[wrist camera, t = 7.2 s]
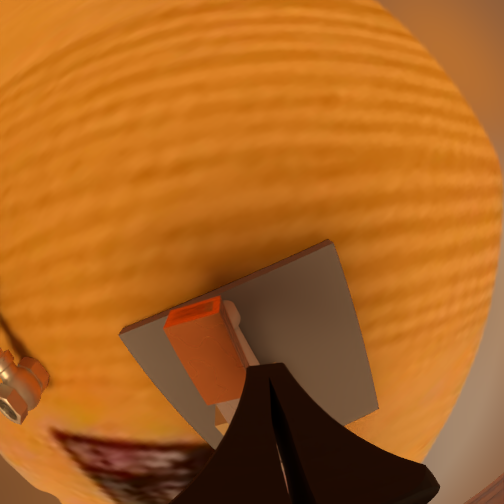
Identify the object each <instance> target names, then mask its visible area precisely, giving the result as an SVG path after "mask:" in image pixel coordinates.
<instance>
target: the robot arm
mask: <svg viewBox="0 0 504 504" xmlns="http://www.w3.org/2000/svg"><path fill="white" fill-rule="evenodd" d="M276 444H277V445H276ZM277 447H278V449H277ZM278 451H279V453H278ZM279 454H280V458H281V461H282V464H283V468H284V471H283V470H282V466H281V462H280V458H279ZM439 489H440V485H439V484H438V482H437V480H436V478H435V477H434V475H433V474H432V473H431V471H430V470H429V469H428V468H427V467H426V465H423V464H420V463H417V462H414V461H411V460H407V459H404V458H401V457H399V456H396V455H394V454H391V453H389V452H387V451H385V450H382V449H380V448H378V447H377V446H375V445H373V444H371V443H369V442H367V441H366V440H364V439H362V438H360V437H359V436H357V435H355V434H354V433H352V432H351V431H350V430H348V429H347V428H345V427H344V426H343V425H341V424H340V423H339V422H337V421H336V420H335V419H334V418H332V417H331V416H330V415H329V414H328V413H327V412H325V411H324V410H323V409H322V408H321V407H320V406H319V405H318V404H317V403H316V402H315V401H314V400H313V399H312V398H311V397H310V396H309V395H308V394H307V392H306V391H305V390H304V389H303V388H302V387H301V386H300V384H299V383H298V382H297V381H296V379H295V378H294V377H293V375H292V374H291V373H290V371H289V370H288V368H287V367H286V365H285V364H284V363H282V362H281V363H273V364H264V365H254V366H249V367H247V368H246V378H245V384H244V388H243V391H242V394H241V397H240V400H239V403H238V406H237V409H236V411H235V414H234V416H233V418H232V420H231V423H230V425H229V427H228V429H227V431H226V433H225V435H224V436H223V438H222V440H221V442H220V443H219V445H218V447H217V448H216V450H215V451H214V453H213V454H212V456H211V457H210V459H209V460H208V461H207V463H206V464H205V465H204V467H203V468H202V469H201V470H200V472H199V473H198V474H197V475H196V476H195V478H194V479H193V480H192V481H191V482H190V483H189V484H188V486H187V487H186V488H185V489H184V490H183V491H182V492H181V493H179V494H178V495H177V496H176V497H175V498H174V499H173V500H172V501H171V502H170V503H169V504H427V503H428V502H429V501H431V500H432V498H434V497H435V495H436V494H437V493H438V491H439ZM464 504H504V473H503V474H502V475H501V476H499V477H498V478H497V479H496V480H495V481H493V482H492V483H491V484H490V485H488V486H487V487H486V488H484V489H483V490H482V491H481V492H479V493H478V494H476V495H475V496H474V497H472V498H471V499H469V500H468V501H467V502H465V503H464Z"/></svg>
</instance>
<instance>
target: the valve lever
mask: <svg viewBox="0 0 504 504" xmlns="http://www.w3.org/2000/svg"><path fill="white" fill-rule="evenodd" d="M163 330H164V331H165V333H166V335H167V337H168V339H169V341H170V343H171V345H172V347H173V348H174V350H175V352H176V354H177V356H178V357H179V359H180V361H181V363H182V365H183V366H184V368H185V370H186V372H187V373H188V375H189V377H190V378H191V380H192V382H193V383H194V385H195V387H196V388H197V390H198V392H199V393H200V395H201V396H202V398H203V400H204V401H205V403H206V404H207V405H212V404H216V405H217V407H218V408H219V410H220V412H221V413H222V415H223V416H224V418H225V420H226V421H227V423H228V424H229V425H230V423H231V420H232V418H233V416H234V414H235V411H236V409H237V406H238V403H239V400H240V397H241V394H242V391H243V388H244V384H245V378H246V368H247V367H249V366H250V365H249V363H248V360H247V358H246V356H245V353H244V351H243V349H242V346H241V344H240V342H239V339H238V337H237V335H236V332H235V330H234V327H233V325H232V323H231V320H230V318H229V315H228V313H227V310H226V308H225V306H224V303H223V301H222V298H221V296H217V297H214V298H210V299H207V300H204V301H201V302H198V303H194V304H191V305H188V306H184V307H181V308H178V309H174V310H171V311H170V313H169V315H168V318H167V320H166V322H165V325H164V327H163ZM276 445H277V444H276ZM277 449H278V447H277ZM278 453H279V451H278ZM279 458H280V454H279ZM280 462H281V463H282V461H281V458H280Z"/></svg>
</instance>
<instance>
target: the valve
mask: <svg viewBox="0 0 504 504" xmlns="http://www.w3.org/2000/svg"><path fill="white" fill-rule="evenodd" d="M13 360H14V357H13V356H12V354H11V353H10V351H9V350H6V351H4V352H3V351H2V349H1V348H0V377H1V379H2V381H3V384H2V383H1V384H0V411H1V412H2V413H3V414H4V415H5V416H6V417H7V418H8V419H10V420H11V421H13V422H14V423H17V424H22V422H23V421H24V419H25V418H26V416H27V415H28V411H30V410H32V409H34V408H35V407H36V406H37V405H38V403H39V401H40V399H41V394H42V393H43V391H44V390H45V388H46V387H47V385H48V381H49V374H48V373H47V371H46V370H45V369H44V368H43V366H42V365H41V364H40V362H39V361H38V360H36V359H33V358H30V357H27V356H24V358H23V359H22V360H21V361H20V362H19V363H18V366H16V365H15V363H14V362H13Z"/></svg>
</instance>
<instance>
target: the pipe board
mask: <svg viewBox="0 0 504 504" xmlns="http://www.w3.org/2000/svg"><path fill="white" fill-rule="evenodd" d="M217 296H221V298H222V301H223V303H224V306H225V308H226V310H227V313H228V315H229V318H230V320H231V323H232V325H233V327H234V330H235V332H236V335H237V337H238V339H239V342H240V344H241V346H242V349H243V351H244V353H245V356H246V358H247V360H248V363H249V365H250V366H254V365H264V364H273V363H281V362H282V363H284V364H285V365H286V367H287V368H288V370H289V371H290V373H291V374H292V375H293V377H294V378H295V379H296V381H297V382H298V383H299V384H300V386H301V387H302V388H303V389H304V390H305V391H306V392H307V394H308V395H309V396H310V397H311V398H312V399H313V400H314V401H315V402H316V403H317V404H318V405H319V406H320V407H321V408H322V409H323V410H324V411H325V412H327V413H328V414H329V415H330V416H331V417H332V418H334V419H335V420H336V421H337V422H339V423H340V424H341V425H343V426H344V425H347V424H349V423H351V422H353V421H355V420H357V419H359V418H361V417H364V416H366V415H368V414H370V413H372V412H373V411H375V410H377V409H379V407H378V402H377V397H376V392H375V388H374V383H373V379H372V374H371V370H370V366H369V361H368V357H367V353H366V349H365V345H364V342H363V338H362V334H361V330H360V327H359V323H358V319H357V316H356V312H355V309H354V305H353V302H352V299H351V295H350V292H349V289H348V286H347V282H346V279H345V276H344V273H343V270H342V267H341V264H340V261H339V258H338V255H337V252H336V249H335V246H334V243H333V242H331V241H330V240H326V241H324V242H321V243H319V244H317V245H315V246H313V247H310V248H308V249H306V250H304V251H302V252H299V253H297V254H295V255H293V256H291V257H288V258H286V259H284V260H282V261H279V262H277V263H275V264H273V265H270V266H268V267H266V268H264V269H261V270H259V271H257V272H255V273H252V274H250V275H248V276H246V277H243V278H241V279H239V280H236V281H234V282H232V283H230V284H227V285H225V286H223V287H220V288H218V289H216V290H213V291H211V292H209V293H206V294H204V295H202V296H199V297H197V298H195V299H192V300H190V301H188V302H185V303H183V304H181V305H178V306H176V307H173V308H171V309H169V310H166V311H164V312H161V313H159V314H157V315H154V316H152V317H149V318H147V319H145V320H142V321H140V322H137V323H135V324H132V325H130V326H128V327H125V328H123V329H122V330H121V332H120V334H119V337H120V338H121V340H122V341H123V343H124V344H125V346H126V347H127V348H128V350H129V351H130V353H131V354H132V355H133V357H134V358H135V360H136V361H137V362H138V364H139V365H140V366H141V368H142V369H143V370H144V371H145V373H146V374H147V375H148V377H149V378H150V379H151V380H152V382H153V383H154V384H155V385H156V387H157V388H158V389H159V390H160V391H161V393H162V394H163V395H164V396H165V397H166V399H167V400H168V401H169V402H170V403H171V404H172V405H173V407H174V408H175V409H176V410H177V411H178V412H179V413H180V414H181V416H182V417H183V418H184V419H185V420H186V421H187V422H188V423H189V424H190V425H191V426H192V427H193V428H194V429H195V430H196V431H197V432H198V433H199V434H200V435H201V437H202V438H203V439H205V440H206V441H207V442H208V443H209V444H210V445H211V446H212V447H213V448H214V449H215V450H216V448H217V447H218V445H219V443H220V442H221V440H222V438H223V436H224V435H225V433H226V431H227V429H228V427H229V424H228V423H227V421H226V420H225V418H224V416H223V415H222V413H221V412H220V410H219V408H218V407H217V405H216V404H212V405H207V404H206V403H205V401H204V400H203V398H202V396H201V395H200V393H199V392H198V390H197V388H196V387H195V385H194V383H193V382H192V380H191V378H190V377H189V375H188V373H187V372H186V370H185V368H184V366H183V365H182V363H181V361H180V359H179V357H178V356H177V354H176V352H175V350H174V348H173V347H172V345H171V343H170V341H169V339H168V337H167V335H166V333H165V331H164V330H163V327H164V325H165V322H166V320H167V318H168V315H169V313H170V311H171V310H174V309H178V308H181V307H184V306H188V305H191V304H194V303H198V302H201V301H204V300H207V299H210V298H214V297H217ZM281 466H282V470H283V471H284V468H283V464H282V463H281Z"/></svg>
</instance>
